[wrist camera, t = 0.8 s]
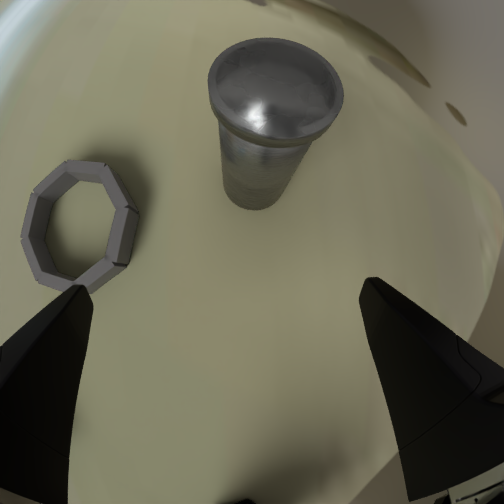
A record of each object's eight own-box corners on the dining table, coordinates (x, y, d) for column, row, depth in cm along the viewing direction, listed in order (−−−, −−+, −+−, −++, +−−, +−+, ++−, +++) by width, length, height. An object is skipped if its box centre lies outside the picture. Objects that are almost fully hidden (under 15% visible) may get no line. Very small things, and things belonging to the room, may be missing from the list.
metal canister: (301, 190, 22) (368, 105, 10) (244, 227, 22) (260, 162, 9) (262, 139, 22) (288, 26, 10) (206, 172, 22) (183, 66, 9)
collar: (158, 244, 21) (149, 240, 18) (67, 312, 20) (52, 315, 17) (105, 149, 21) (94, 137, 19) (27, 216, 20) (11, 211, 18)
